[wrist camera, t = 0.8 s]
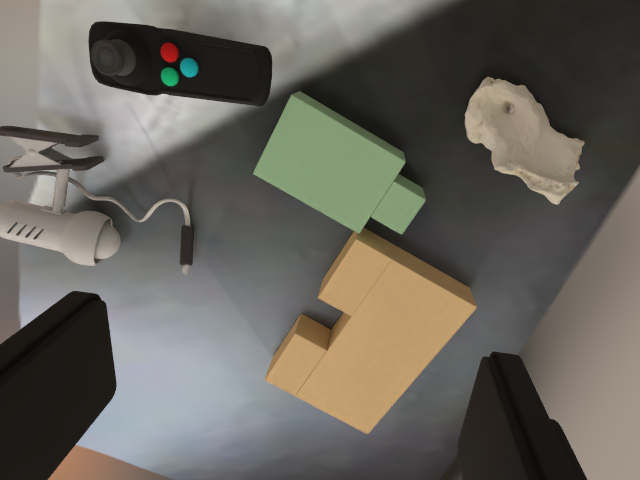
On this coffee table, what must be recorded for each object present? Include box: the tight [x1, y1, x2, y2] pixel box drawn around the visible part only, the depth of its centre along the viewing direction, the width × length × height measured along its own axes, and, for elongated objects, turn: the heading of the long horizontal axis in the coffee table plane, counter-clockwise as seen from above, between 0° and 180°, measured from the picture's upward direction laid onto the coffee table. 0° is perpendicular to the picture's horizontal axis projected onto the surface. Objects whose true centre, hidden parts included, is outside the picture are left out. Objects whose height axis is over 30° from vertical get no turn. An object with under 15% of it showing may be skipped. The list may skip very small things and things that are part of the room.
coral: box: [465, 77, 585, 204], centre depth 32 cm, size 6×10×4 cm, turn 56°
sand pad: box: [265, 227, 477, 434], centre depth 42 cm, size 18×12×4 cm, turn 151°
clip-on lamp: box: [0, 126, 194, 274], centre depth 39 cm, size 12×6×18 cm
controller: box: [89, 22, 272, 106], centre depth 31 cm, size 4×12×10 cm, turn 83°
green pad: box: [253, 91, 426, 234], centre depth 36 cm, size 7×13×4 cm, turn 61°
